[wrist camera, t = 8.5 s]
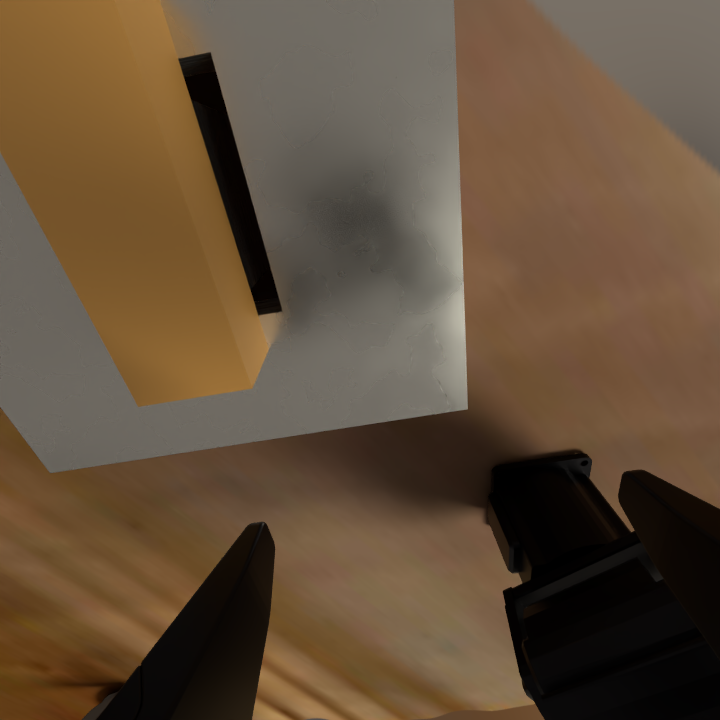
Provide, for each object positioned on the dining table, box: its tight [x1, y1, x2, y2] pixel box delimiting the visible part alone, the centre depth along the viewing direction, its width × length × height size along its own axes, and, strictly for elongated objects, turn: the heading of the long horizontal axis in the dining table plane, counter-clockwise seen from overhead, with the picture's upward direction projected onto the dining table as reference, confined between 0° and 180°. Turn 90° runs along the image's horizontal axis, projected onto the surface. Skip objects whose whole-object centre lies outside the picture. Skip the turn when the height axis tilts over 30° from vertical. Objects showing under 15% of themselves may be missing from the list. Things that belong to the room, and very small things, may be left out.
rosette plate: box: [0, 0, 468, 473], centre depth 15 cm, size 20×20×5 cm
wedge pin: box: [0, 0, 270, 407], centre depth 13 cm, size 4×11×7 cm, turn 9°
